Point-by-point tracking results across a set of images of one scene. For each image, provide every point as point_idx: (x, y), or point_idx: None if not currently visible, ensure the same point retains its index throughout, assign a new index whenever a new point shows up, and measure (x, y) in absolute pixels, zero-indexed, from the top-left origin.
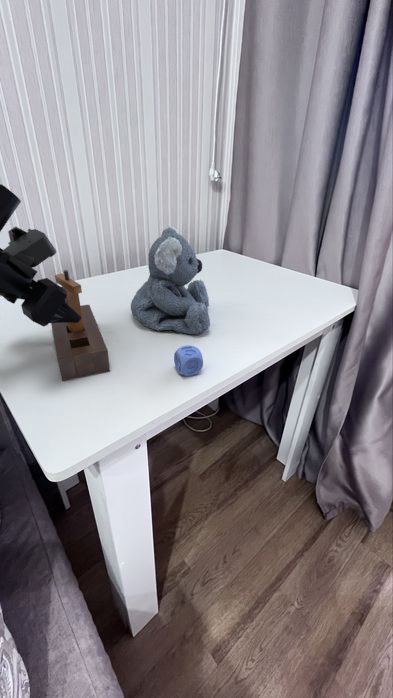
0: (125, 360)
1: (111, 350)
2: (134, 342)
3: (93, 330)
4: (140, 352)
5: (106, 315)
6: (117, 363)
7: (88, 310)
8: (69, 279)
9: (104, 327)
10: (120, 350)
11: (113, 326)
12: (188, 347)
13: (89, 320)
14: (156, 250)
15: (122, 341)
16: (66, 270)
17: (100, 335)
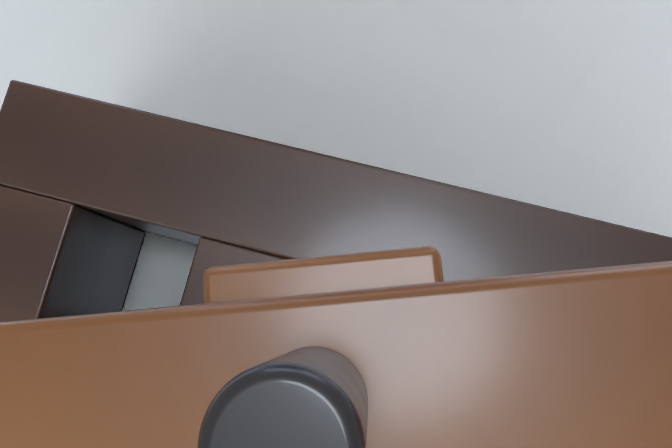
0: (659, 157)
1: (501, 178)
2: (493, 16)
3: (484, 241)
4: (624, 40)
5: (52, 8)
6: (664, 213)
7: (116, 130)
8: (325, 347)
9: (200, 90)
10: (533, 131)
11: (223, 35)
12: None
13: (296, 197)
14: None
15: (438, 72)
16: (269, 415)
17: (596, 228)
